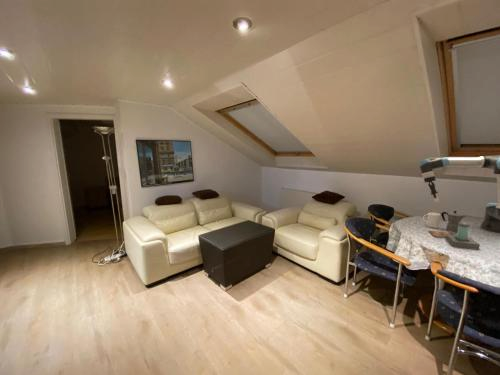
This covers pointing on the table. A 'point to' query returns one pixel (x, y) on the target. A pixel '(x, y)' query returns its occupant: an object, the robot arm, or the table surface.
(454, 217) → the coffeepot
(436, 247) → the table surface
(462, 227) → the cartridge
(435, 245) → the table surface
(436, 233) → the pad
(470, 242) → the housing
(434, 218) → the mug
